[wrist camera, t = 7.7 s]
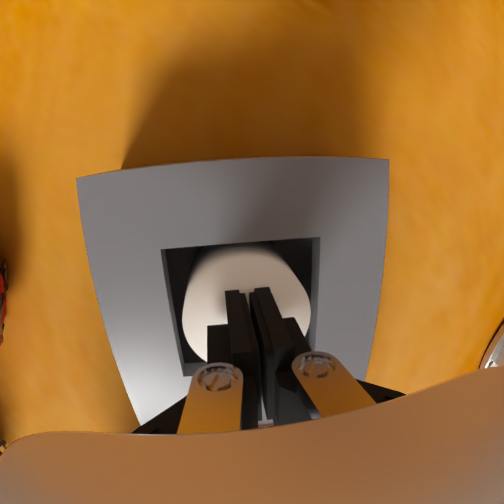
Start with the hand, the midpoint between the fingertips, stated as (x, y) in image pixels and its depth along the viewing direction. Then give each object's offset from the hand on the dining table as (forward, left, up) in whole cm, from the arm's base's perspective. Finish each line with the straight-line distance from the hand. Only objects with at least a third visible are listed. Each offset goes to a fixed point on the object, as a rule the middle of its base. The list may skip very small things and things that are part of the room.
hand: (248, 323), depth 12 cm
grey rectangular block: (0, +5, -7) cm, 8 cm away
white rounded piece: (0, 0, -4) cm, 4 cm away
